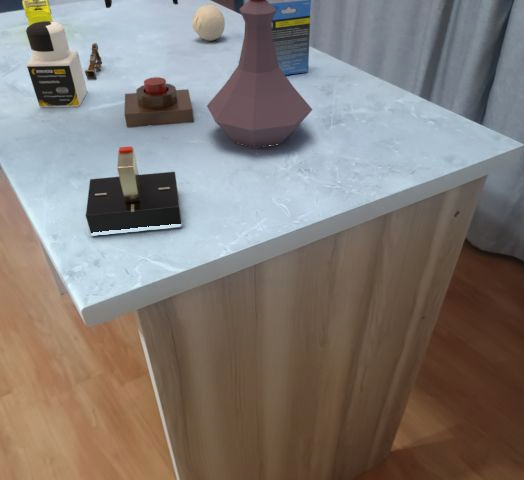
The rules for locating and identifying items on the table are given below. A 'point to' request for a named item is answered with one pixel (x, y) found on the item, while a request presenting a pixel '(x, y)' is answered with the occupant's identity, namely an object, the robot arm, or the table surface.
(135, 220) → the lever switch base
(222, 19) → the beige ball
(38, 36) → the medicine bottle
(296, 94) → the flask
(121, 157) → the beige two-tone block
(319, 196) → the table surface
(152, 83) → the button
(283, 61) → the blue product box
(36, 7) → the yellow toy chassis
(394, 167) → the table surface
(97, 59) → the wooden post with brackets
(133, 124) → the button block
